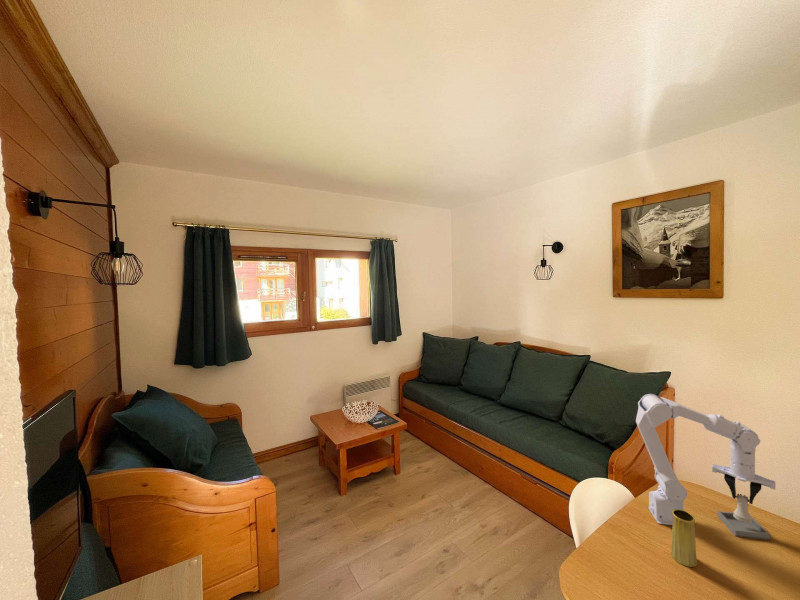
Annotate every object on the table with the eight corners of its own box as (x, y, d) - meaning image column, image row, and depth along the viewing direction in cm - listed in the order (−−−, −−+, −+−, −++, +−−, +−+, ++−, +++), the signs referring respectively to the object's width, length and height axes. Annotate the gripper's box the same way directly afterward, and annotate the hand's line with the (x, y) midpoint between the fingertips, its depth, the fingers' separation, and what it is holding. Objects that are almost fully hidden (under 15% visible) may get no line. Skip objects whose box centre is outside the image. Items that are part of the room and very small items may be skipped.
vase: (691, 552, 103) (690, 509, 102) (701, 569, 97) (701, 524, 96) (667, 548, 105) (666, 506, 104) (676, 565, 99) (675, 520, 98)
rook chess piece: (756, 523, 108) (756, 499, 108) (744, 524, 107) (744, 500, 107) (740, 514, 112) (740, 491, 112) (729, 515, 112) (729, 492, 112)
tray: (735, 536, 108) (735, 530, 108) (717, 516, 116) (717, 510, 116) (770, 540, 105) (770, 534, 105) (749, 519, 114) (749, 514, 114)
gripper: (711, 458, 112) (711, 495, 113) (775, 475, 101) (775, 516, 102) (713, 449, 117) (713, 485, 118) (775, 465, 106) (775, 505, 107)
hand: (742, 499), depth 110 cm, fingers closed on rook chess piece, 3 cm apart
